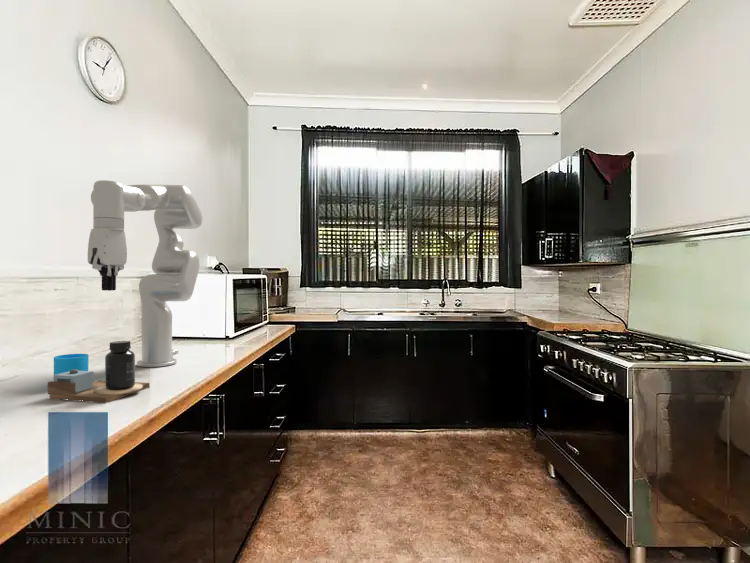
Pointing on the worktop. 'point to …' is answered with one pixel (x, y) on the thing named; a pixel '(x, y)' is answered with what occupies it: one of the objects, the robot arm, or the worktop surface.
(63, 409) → the worktop surface
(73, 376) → the cover
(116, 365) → the supplement bottle
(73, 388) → the board
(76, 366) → the mug
